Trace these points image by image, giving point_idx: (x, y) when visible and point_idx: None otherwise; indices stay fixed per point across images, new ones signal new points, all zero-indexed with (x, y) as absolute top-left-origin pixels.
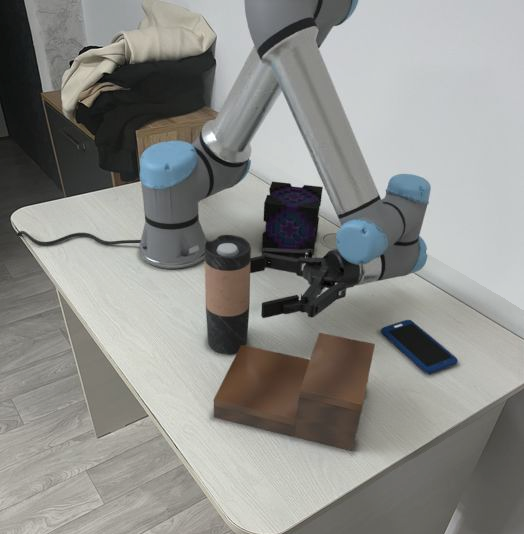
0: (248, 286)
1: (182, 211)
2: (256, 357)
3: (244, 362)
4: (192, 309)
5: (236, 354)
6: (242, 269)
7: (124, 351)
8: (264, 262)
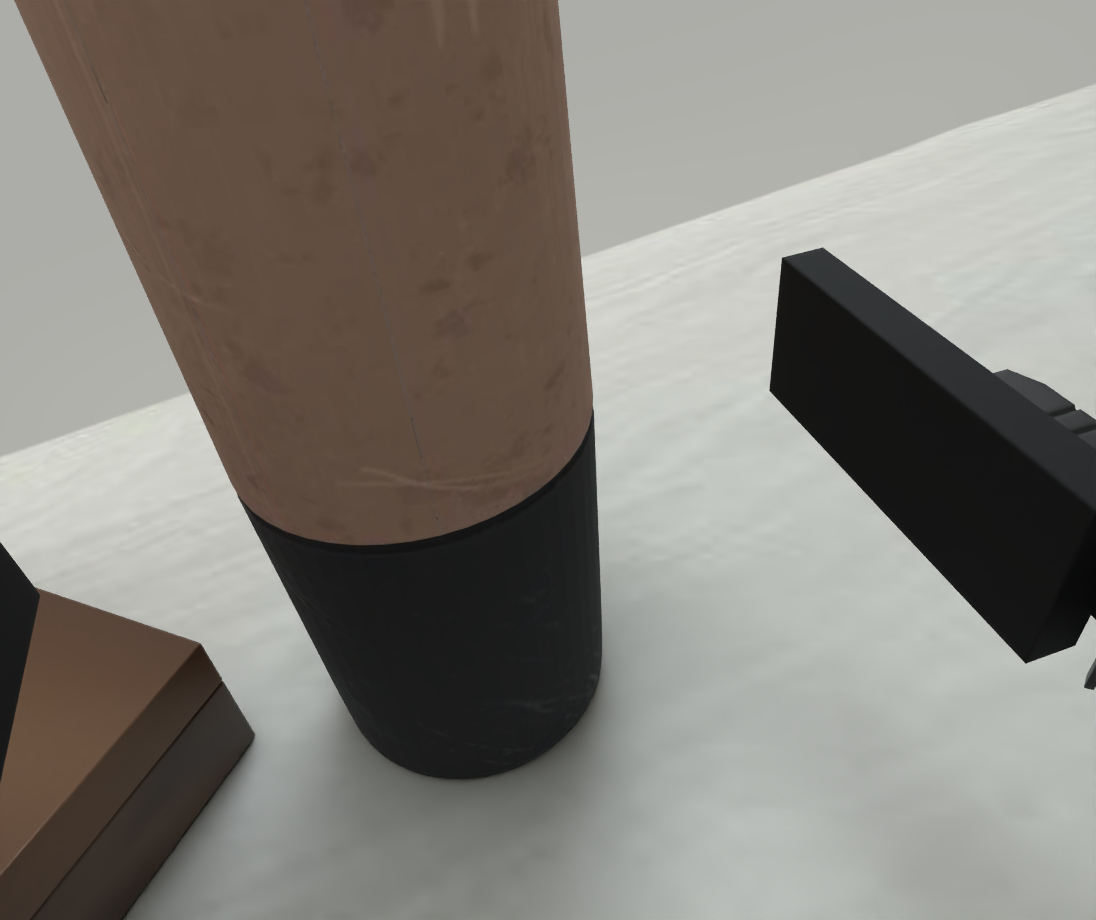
0: (204, 316)
1: None
2: None
3: None
4: (812, 484)
5: (111, 614)
6: None
7: None
8: (1058, 564)
